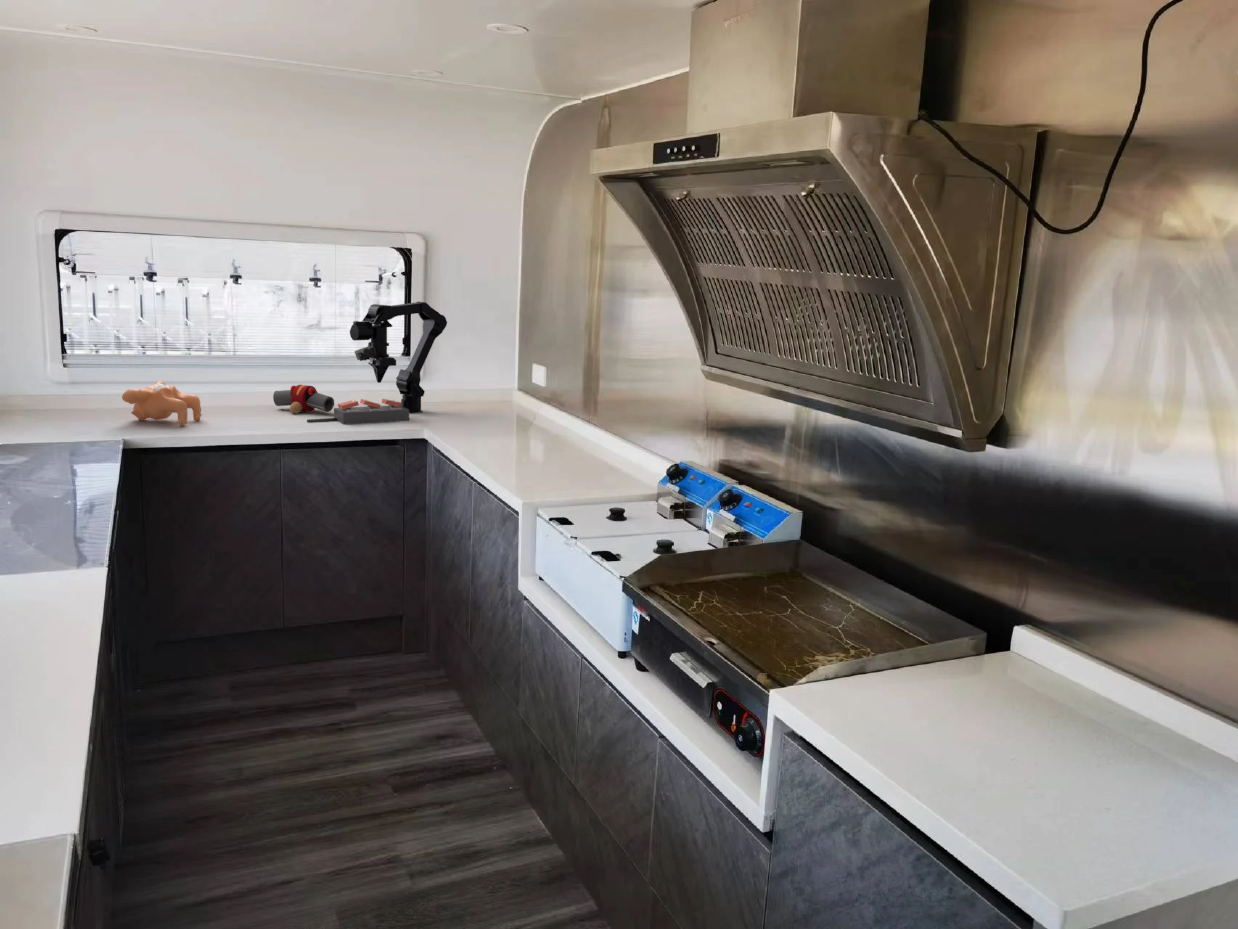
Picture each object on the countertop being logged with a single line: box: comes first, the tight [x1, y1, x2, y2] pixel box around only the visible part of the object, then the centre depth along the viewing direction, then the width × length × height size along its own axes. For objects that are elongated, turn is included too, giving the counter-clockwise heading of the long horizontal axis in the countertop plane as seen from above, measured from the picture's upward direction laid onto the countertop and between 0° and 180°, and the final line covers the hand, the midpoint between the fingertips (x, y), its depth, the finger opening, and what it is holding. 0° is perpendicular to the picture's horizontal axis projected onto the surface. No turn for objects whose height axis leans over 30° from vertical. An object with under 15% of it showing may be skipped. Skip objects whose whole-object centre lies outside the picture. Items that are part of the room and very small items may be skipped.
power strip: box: [306, 405, 410, 425], centre depth 341 cm, size 34×10×5 cm, turn 124°
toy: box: [272, 384, 335, 415], centre depth 352 cm, size 23×10×15 cm
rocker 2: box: [359, 398, 381, 409], centre depth 344 cm, size 6×4×2 cm, turn 125°
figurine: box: [121, 380, 203, 427], centre depth 319 cm, size 14×25×20 cm
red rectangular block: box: [381, 398, 402, 407], centre depth 349 cm, size 6×4×2 cm, turn 125°
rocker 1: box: [337, 399, 360, 410], centre depth 340 cm, size 6×4×2 cm, turn 124°
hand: (378, 382), depth 352 cm, fingers closed
